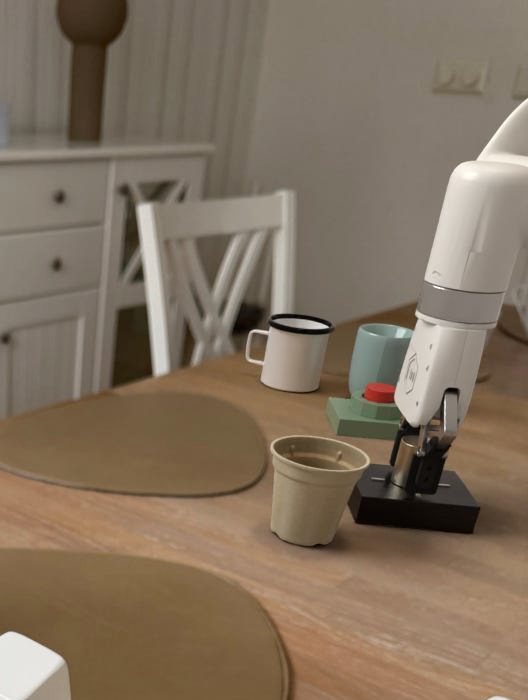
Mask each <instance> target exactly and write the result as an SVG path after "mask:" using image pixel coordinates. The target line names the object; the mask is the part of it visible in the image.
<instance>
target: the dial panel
mask: <svg viewBox="0 0 528 700" xmlns="http://www.w3.org/2000/svg"><path fill="white" fill-rule="evenodd" d="M393 469H394V467H393V466H391V465H390V464H379V463H371V462H370V465H369V467H368V468H367V469H365V470H364V471H363V473H362V476H361V478H360V479H359V480H358V481H357V482H356V484H355V486H354V489H353V491H352V493H351V496H350V498H349V500H348V503H347V506H348V509H349V511H350V513H351V516H352V518H353V520H354V523H355V524H364V525H374V526H375V525H376V526H385V527H396V528H406V529H408V528H409V529H418V530H427V531H440V532H451V533H461V534H470V535H471V534H472V535H473V534H474V530H475V527H476V525H477V522H478V519H479V515H480V512H481V509H482V506H481V505H480V504H479V502H478V501H477V500H476V498H475V497H474V495H473V494H472V493H471V491H470V489H469V488H468V487H467V486H466V484H465V483H464V481H462V479H461V478H460V476H459V475H458V473H457V472H456V471H455V470H448V469H447V470H446V469H443V471H442V475H441V478H440V482H439V485H438V488H437V492H436V493H435V494H434V495H428V494H417V493H407V492H406V491H405V490H404V487H401V486H398V485H396V484H395V483H393V482H392V480H391V477H392V473H393Z"/></svg>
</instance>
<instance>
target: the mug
mask: <svg viewBox="0 0 528 700" xmlns="http://www.w3.org/2000/svg"><path fill="white" fill-rule="evenodd" d="M266 324H267V325H268V326H269V330H264V329H252V330H250V331H249V333H248V336H247V341H246V347H245V359H246V361H247V362H248V363H251V364H254V365H257V366H261V368H262V370H261V373H260V382H261V383H263V385H264V386H266V387H268V388H270V389H273V390H275V391H280V392H287V393H295V394H303V393H311V392H313V391H316V390H318V388H319V386H320V382H321V378H322V377H321V376H322V372H323V368H324V362H325V357H326V352H327V348H328V343H329V338H330V334H333V332H335V328H336V325H335V323H334V322H332V321H331V320H329V319H326V318H324V317H319V316H315V315H310V314H305V313H304V314H303V313H293V312H292V313H291V312H286V313H285V312H283V313H282V312H281V313H274V314H271V315H269V316H268V317H267V320H266ZM253 334H259V335H265V336H267V341H266V346H265V353H264V358H263V360H258V359H253V358H251V357H250V352H251V343H252V339H253Z"/></svg>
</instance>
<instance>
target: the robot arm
mask: <svg viewBox="0 0 528 700" xmlns="http://www.w3.org/2000/svg"><path fill="white" fill-rule="evenodd" d="M522 249H528V97H527V98H526V99H525V100H523V102H521V103H520V104H519V105H518V106H517V107H516V108H515V109H514V110H512V112H510V114H509V115H508V117H507V118H506V119H505V120H504V121H503V122H502V123H501V125H500V126H499V127H498V129H497V130H496V132H495V133H494V134H493V136H492V137H491V139H490V140H489V142H488V143H487V144H486V145H485V147H484V148H483V149H482V151H481V153H480V154H479V155H478V156H477V158H476V160H467V161H464V162H461V163H460V164H458V165H457V166H456V167H455V168H454V170H452V172H451V175H450V177H449V180H448V183H447V186H446V189H445V194H444V198H443V201H442V206H441V211H440V215H439V219H438V222H437V227H436V231H435V235H434V239H433V243H432V246H431V250H430V255H429V258H428V263H427V266H426V270H425V274H424V278H423V282H422V285H421V288H420V293H419V297H418V301H417V305H416V309H415V313H414V316H415V317H416V318H417V321H416V324H415V327H414V328H413V331H414V332H413V335H412V338H411V341H410V344H409V347H408V350H407V353H406V357H405V360H404V363H403V367H402V370H401V373H400V377H399V380H398V383H397V387H396V390H395V395H394V400H395V403H396V405H397V407H398V408H399V410H400V411H401V413H402V416H401V418H400V421H399V428H400V429H403V430H400V429H398V430H397V434H396V438H395V440H394V442H393V445H392V450H391V454H390V458H389V462H388V463H389V465H391V466H393V467H394V466H395V462H396V458H397V454H398V450H399V447H400V443H401V439H402V438H403V437H404V436H409V435H416V436H419V441H418V449H417V454H415V453H413V455H412V458H411V462H410V466H409V469H408V473H407V477H406V480H405V484H404V490H405V491H406V492H407V493H417V494H428V495H434V494H435V493H436V492H437V488H438V485H439V482H440V478H441V475H442V471H443V470H444V469H445V464H446V461H447V459H448V457H449V454H450V449H451V448H452V444H453V442H454V441H455V440H456V438H457V436H458V430H459V429H460V428H462V426H463V424H464V422H465V418H466V416H467V413H468V411H469V410H468V409H469V407H470V404H471V400H472V396H473V392H474V389H475V385H476V381H477V377H478V374H479V369H480V366H481V365H480V364H481V361H482V356H483V352H484V346H485V342H486V336H487V332H488V330H492V329H495V328H496V327H497V325H498V320H499V317H500V315H501V311H502V307H503V305H504V301H505V297H506V294H507V291H508V288H509V284H510V281H511V277H512V274H513V270H514V268H515V264H516V261H517V257H518V254H519V251H520V250H522ZM431 421H439V425H438V424H431ZM430 433H436V435H432V436H431V437H430V438H431V439H430V440H429V441H428V438H429V435H430ZM427 441H428V443H427Z"/></svg>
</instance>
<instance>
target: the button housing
mask: <svg viewBox="0 0 528 700" xmlns="http://www.w3.org/2000/svg"><path fill="white" fill-rule="evenodd" d="M364 393H365V390H357V391H355V392H353V393H352V394H351V395H350V398H343V397H332V396H328V398H327V403H326V406H325V412H324V413H325V416H326V417H327V420H328V422H329V423H330V425H331V427H332V430H333V432H334V434H335V435H336V436H339V437H342V436H343V437H353V438H363V439H364V438H365V439H375V440H386V441H395V438H396V434H397V430H398V429H400V428H399V421H400V418H401V416H402V413H401V411H400V410H399V408H398V407H397V405H396V403H390V404H387V403H377V402H373V401H369V400H367V399H365V398H363V397H364ZM400 430H403V429H400Z"/></svg>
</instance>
